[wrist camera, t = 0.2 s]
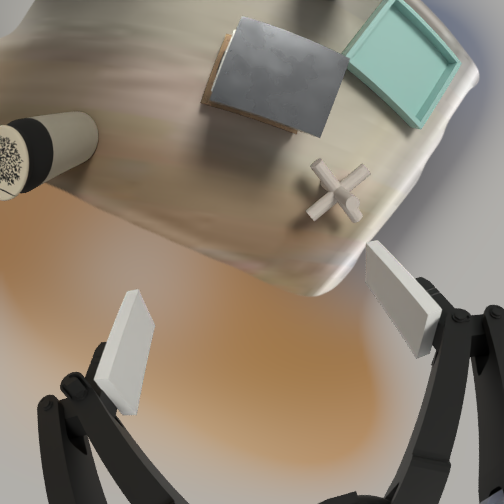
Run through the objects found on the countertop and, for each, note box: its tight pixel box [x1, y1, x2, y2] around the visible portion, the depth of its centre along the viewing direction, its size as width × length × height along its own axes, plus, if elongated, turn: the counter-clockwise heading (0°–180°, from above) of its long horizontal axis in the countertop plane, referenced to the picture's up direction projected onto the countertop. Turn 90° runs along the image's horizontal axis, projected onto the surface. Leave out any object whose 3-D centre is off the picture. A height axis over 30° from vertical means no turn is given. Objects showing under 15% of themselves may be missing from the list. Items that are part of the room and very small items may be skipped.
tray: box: [341, 0, 462, 129], centre depth 33 cm, size 16×16×3 cm
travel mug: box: [0, 111, 98, 201], centre depth 28 cm, size 8×8×18 cm
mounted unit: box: [201, 16, 350, 138], centre depth 30 cm, size 13×10×13 cm
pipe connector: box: [306, 159, 371, 223], centre depth 38 cm, size 10×10×10 cm
